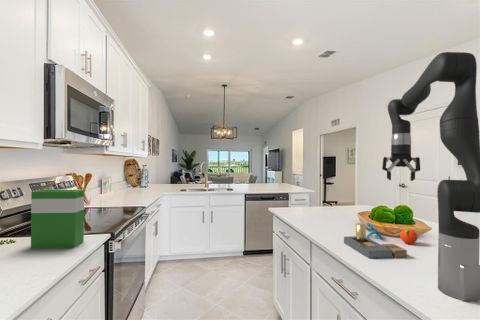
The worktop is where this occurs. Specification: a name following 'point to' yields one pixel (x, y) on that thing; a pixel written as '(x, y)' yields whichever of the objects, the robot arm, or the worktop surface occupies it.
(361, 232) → the brass peg
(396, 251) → the brown rectangular block
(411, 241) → the tomato
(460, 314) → the worktop surface
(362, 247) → the flange plate
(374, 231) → the gear
